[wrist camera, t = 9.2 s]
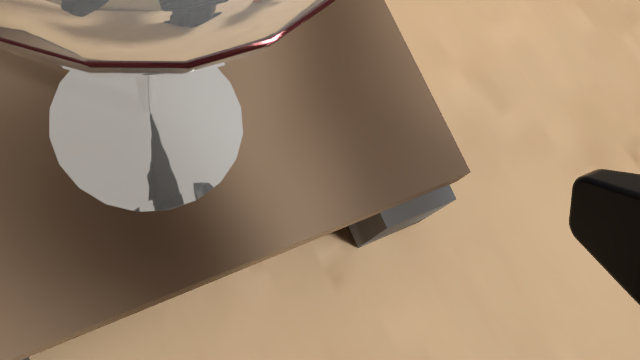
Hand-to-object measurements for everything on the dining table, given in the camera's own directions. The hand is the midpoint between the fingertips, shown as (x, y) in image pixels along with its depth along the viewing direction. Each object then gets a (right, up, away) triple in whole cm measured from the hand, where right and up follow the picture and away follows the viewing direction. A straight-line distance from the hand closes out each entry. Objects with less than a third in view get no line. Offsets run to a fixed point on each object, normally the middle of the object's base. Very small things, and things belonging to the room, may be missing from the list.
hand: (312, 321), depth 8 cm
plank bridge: (-5, +2, +12) cm, 13 cm away
